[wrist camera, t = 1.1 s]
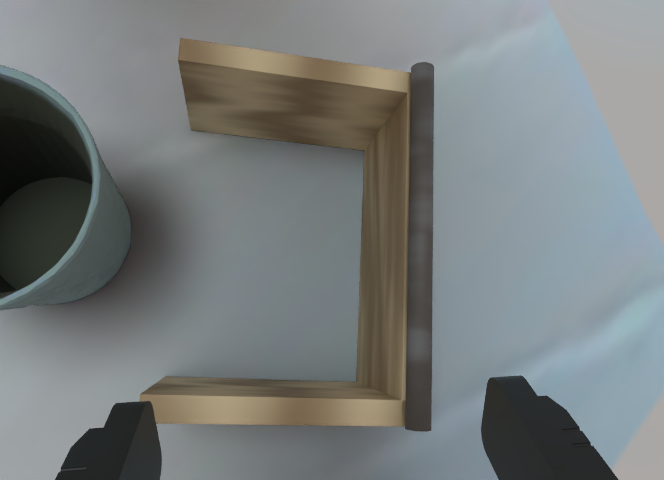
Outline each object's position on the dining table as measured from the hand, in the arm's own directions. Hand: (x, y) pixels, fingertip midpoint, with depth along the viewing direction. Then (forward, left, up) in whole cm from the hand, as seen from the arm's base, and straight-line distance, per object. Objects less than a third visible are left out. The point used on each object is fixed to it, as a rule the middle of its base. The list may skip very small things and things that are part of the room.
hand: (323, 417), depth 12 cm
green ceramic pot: (-14, -3, -21) cm, 26 cm away
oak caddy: (-5, +5, -21) cm, 22 cm away
